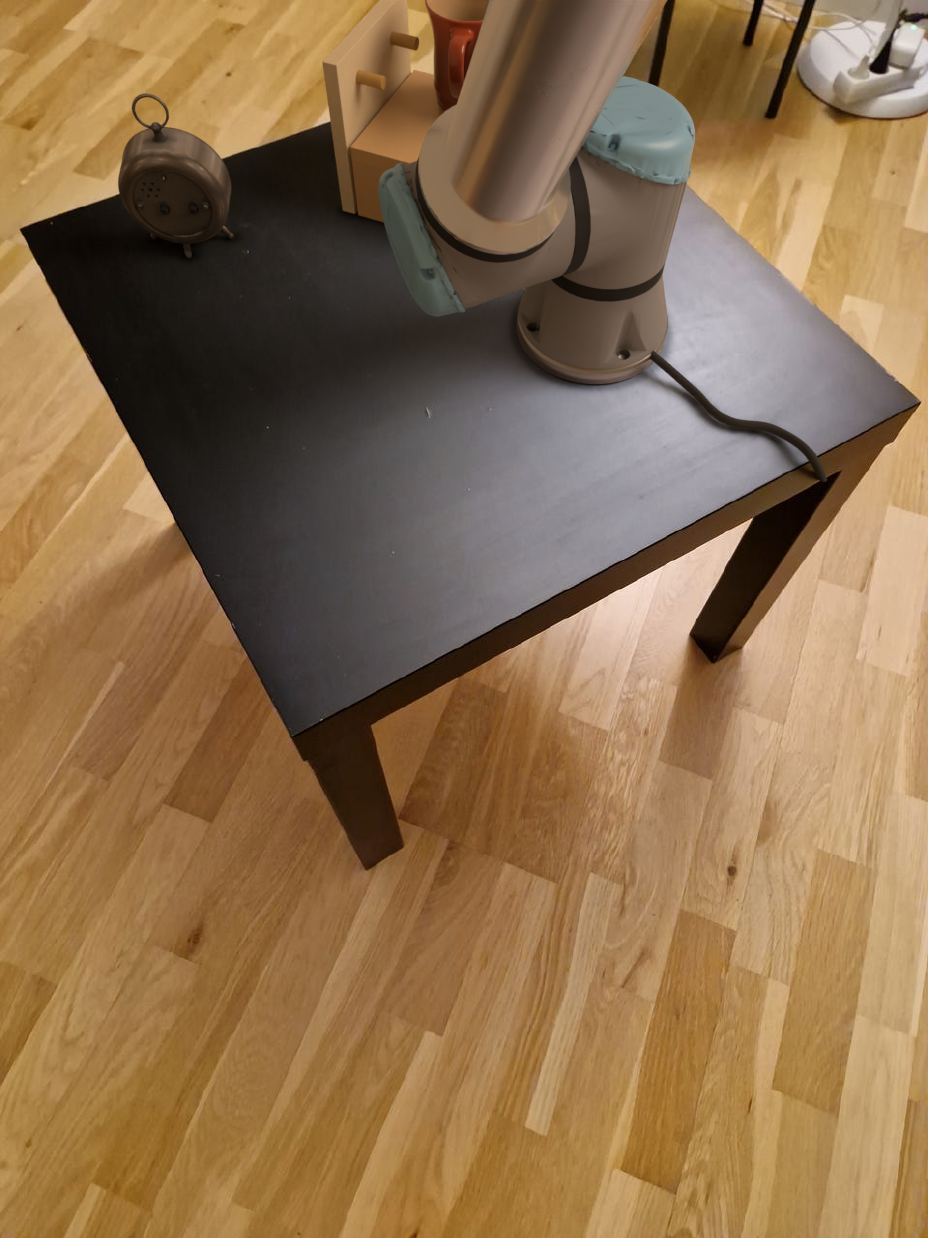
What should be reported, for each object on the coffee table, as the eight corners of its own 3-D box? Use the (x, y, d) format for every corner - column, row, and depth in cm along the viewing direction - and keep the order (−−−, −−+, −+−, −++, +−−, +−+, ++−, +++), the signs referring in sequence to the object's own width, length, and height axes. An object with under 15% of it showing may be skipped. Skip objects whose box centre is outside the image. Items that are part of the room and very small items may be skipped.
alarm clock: (244, 228, 93) (205, 76, 79) (239, 260, 91) (198, 109, 76) (147, 230, 93) (90, 78, 79) (139, 262, 90) (79, 111, 76)
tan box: (523, 166, 99) (533, 17, 85) (470, 247, 92) (472, 99, 78) (402, 134, 102) (393, -16, 88) (342, 210, 95) (321, 61, 81)
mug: (437, 77, 93) (434, -28, 84) (513, 86, 93) (519, -20, 84) (414, 140, 88) (409, 34, 79) (495, 149, 87) (499, 44, 78)
